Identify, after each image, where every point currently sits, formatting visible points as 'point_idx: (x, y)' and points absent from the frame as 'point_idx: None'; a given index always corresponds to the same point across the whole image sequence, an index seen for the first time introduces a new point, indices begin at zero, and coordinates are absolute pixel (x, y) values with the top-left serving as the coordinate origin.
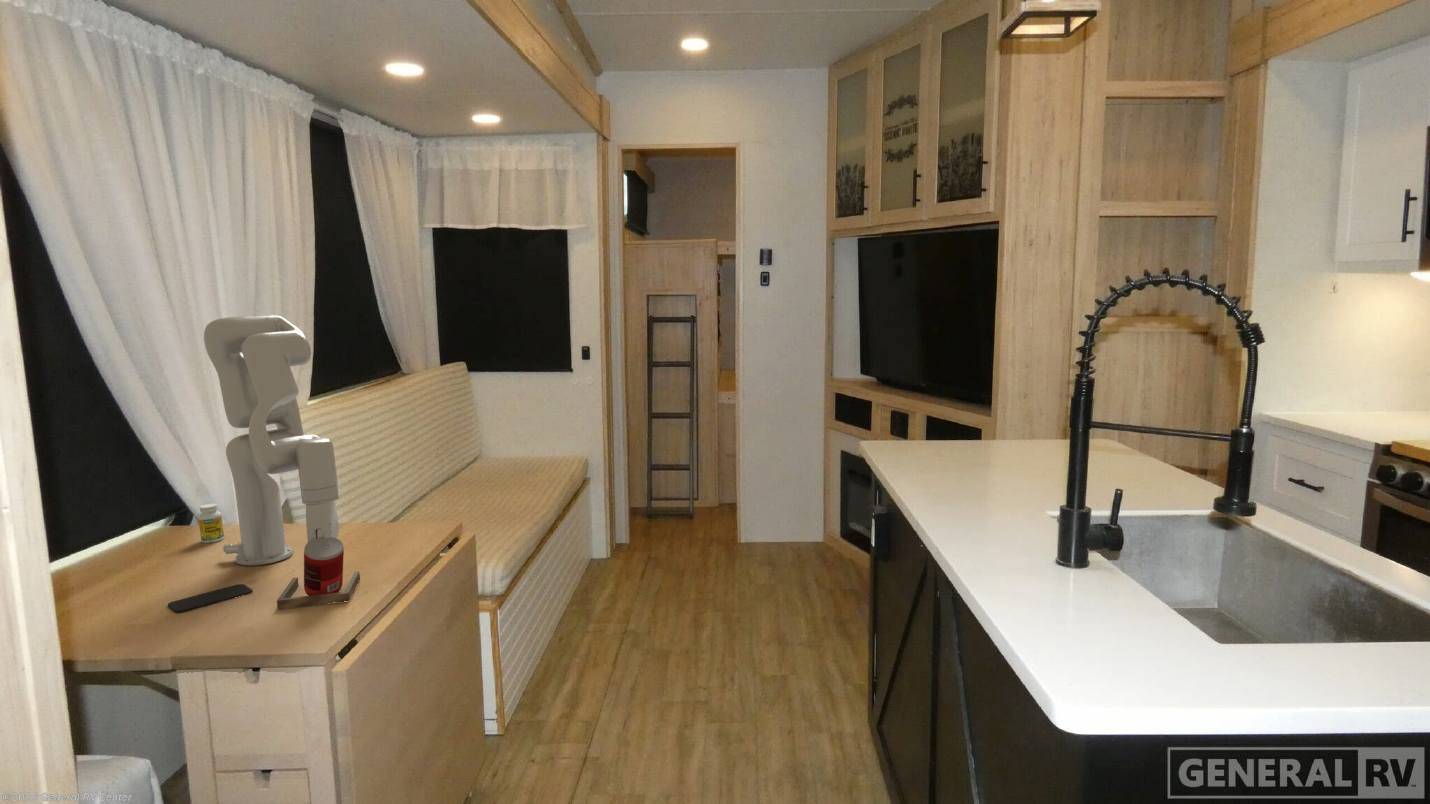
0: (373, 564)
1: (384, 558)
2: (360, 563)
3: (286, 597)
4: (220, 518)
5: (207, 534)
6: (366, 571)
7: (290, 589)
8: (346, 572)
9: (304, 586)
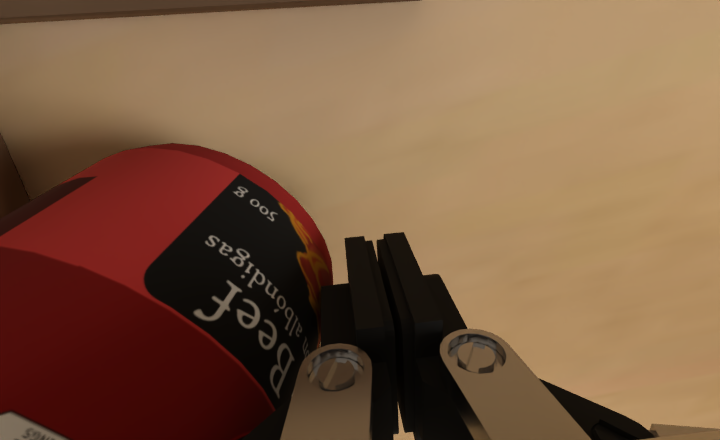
0: (645, 362)
1: (714, 388)
2: (706, 298)
3: (15, 19)
4: None
5: None
6: (543, 356)
7: (156, 10)
8: (579, 263)
9: (77, 174)
